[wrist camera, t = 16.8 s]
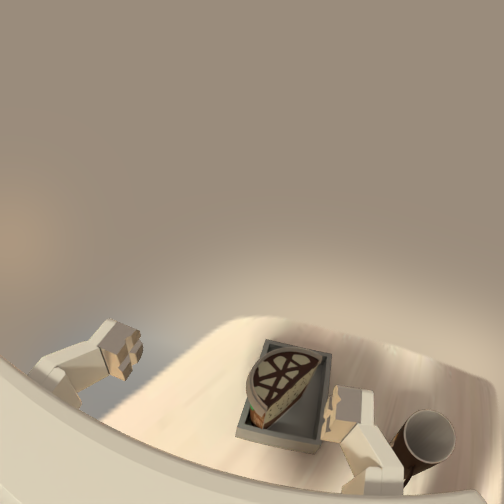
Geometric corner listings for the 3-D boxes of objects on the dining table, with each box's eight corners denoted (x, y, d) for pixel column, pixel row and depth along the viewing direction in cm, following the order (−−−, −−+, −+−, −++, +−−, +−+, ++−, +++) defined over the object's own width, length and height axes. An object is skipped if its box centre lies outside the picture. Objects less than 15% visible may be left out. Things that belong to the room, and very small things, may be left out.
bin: (326, 366, 51) (331, 354, 49) (314, 454, 36) (321, 445, 34) (262, 352, 52) (265, 339, 51) (235, 436, 38) (236, 427, 36)
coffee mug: (399, 432, 38) (430, 399, 33) (427, 467, 32) (465, 439, 27) (345, 467, 34) (374, 440, 29) (375, 508, 27) (413, 489, 22)
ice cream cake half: (278, 371, 48) (290, 330, 42) (307, 393, 44) (324, 354, 39) (222, 414, 40) (226, 377, 34) (253, 441, 36) (264, 409, 31)
